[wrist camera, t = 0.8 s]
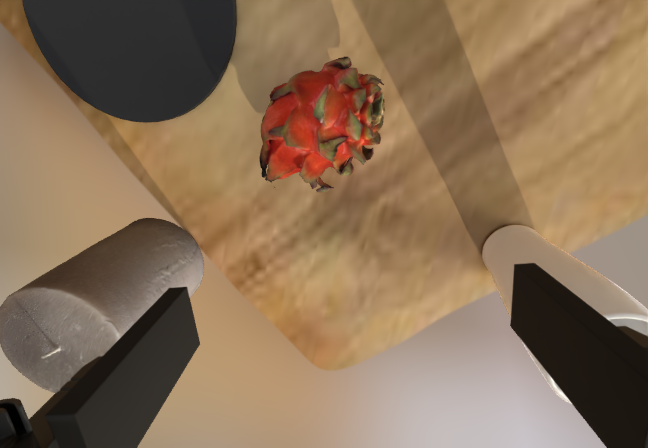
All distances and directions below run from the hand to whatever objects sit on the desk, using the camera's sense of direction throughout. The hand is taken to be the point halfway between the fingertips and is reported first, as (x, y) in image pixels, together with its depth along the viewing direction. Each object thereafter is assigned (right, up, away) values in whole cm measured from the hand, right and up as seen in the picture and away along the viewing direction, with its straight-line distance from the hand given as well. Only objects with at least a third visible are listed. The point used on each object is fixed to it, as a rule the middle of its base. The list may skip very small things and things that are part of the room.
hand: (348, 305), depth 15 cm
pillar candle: (-18, 0, +24) cm, 30 cm away
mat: (-17, +21, +15) cm, 31 cm away
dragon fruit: (-1, +12, +17) cm, 21 cm away
